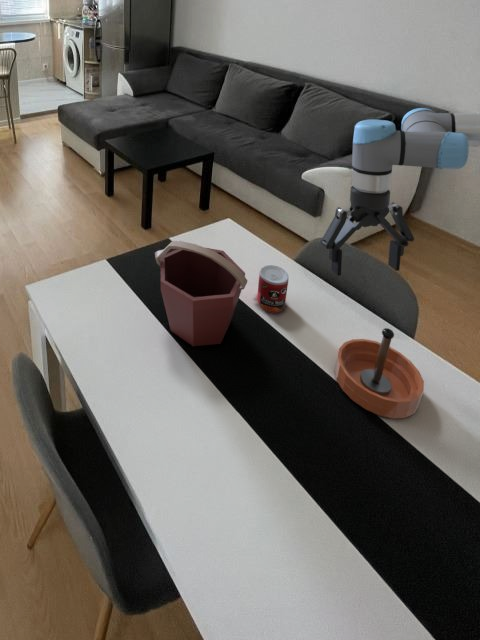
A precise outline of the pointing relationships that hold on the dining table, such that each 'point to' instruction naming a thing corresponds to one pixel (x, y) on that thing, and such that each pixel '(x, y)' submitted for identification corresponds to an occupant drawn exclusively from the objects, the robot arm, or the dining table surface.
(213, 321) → the bucket
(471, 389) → the dining table surface
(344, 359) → the bowl
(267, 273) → the canned food
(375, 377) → the ring stacker peg
